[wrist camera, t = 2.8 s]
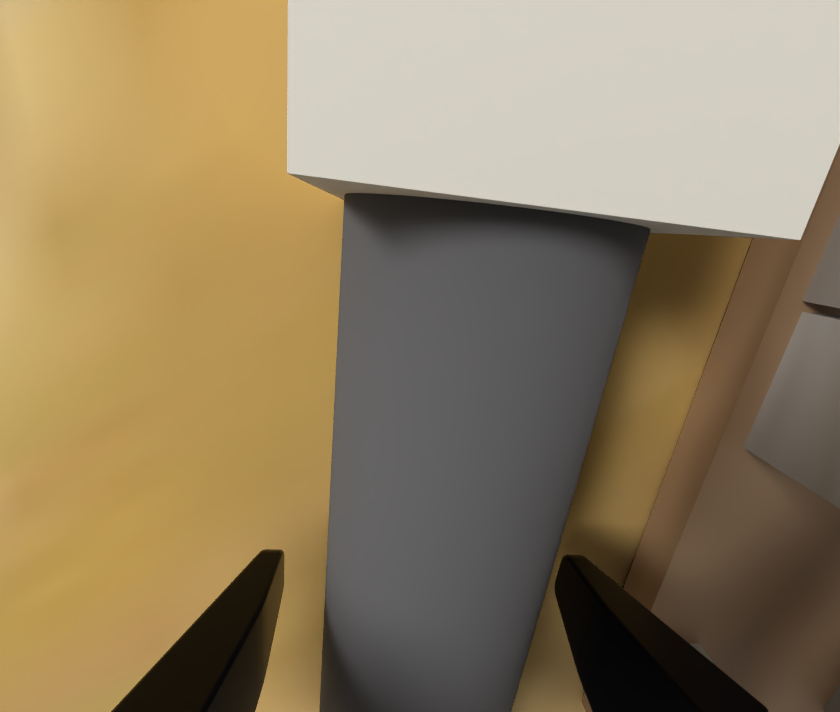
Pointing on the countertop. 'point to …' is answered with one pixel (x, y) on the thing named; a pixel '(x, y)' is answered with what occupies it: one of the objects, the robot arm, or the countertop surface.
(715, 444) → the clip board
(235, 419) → the countertop surface
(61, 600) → the countertop surface
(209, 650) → the robot arm
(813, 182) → the gray rod with block
